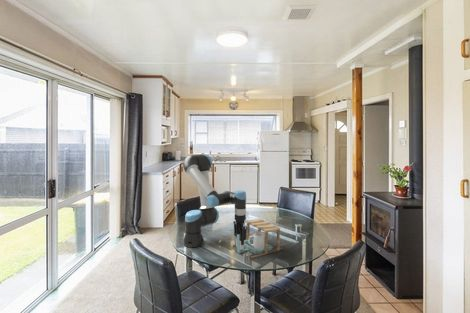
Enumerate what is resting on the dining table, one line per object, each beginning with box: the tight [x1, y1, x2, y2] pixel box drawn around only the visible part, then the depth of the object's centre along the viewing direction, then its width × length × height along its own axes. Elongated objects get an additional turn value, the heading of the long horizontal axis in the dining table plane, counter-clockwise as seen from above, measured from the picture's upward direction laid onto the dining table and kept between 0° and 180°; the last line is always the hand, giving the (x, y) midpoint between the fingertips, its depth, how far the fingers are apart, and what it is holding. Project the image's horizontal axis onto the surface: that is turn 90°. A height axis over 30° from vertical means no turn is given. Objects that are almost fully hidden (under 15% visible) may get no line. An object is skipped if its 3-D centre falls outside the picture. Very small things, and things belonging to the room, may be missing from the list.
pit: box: [268, 238, 287, 248], centre depth 194 cm, size 14×7×1 cm, turn 32°
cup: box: [248, 231, 265, 250], centre depth 184 cm, size 8×12×10 cm
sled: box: [236, 234, 274, 255], centre depth 181 cm, size 18×23×12 cm
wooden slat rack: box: [232, 218, 284, 259], centre depth 184 cm, size 23×28×16 cm
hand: (239, 248), depth 177 cm, fingers closed on sled, 3 cm apart
